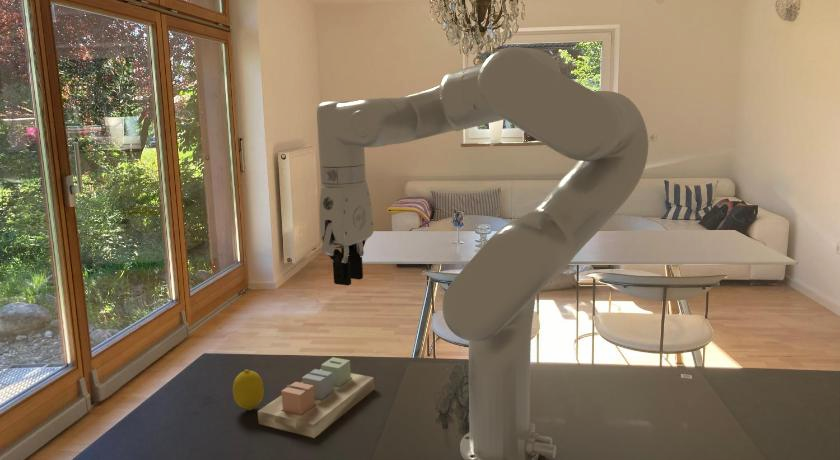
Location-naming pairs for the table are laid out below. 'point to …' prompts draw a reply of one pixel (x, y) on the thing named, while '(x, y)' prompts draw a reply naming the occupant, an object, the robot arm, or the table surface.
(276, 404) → the keypad board
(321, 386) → the key slate
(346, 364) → the key sage
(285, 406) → the key terracotta
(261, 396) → the lemon
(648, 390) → the table surface
